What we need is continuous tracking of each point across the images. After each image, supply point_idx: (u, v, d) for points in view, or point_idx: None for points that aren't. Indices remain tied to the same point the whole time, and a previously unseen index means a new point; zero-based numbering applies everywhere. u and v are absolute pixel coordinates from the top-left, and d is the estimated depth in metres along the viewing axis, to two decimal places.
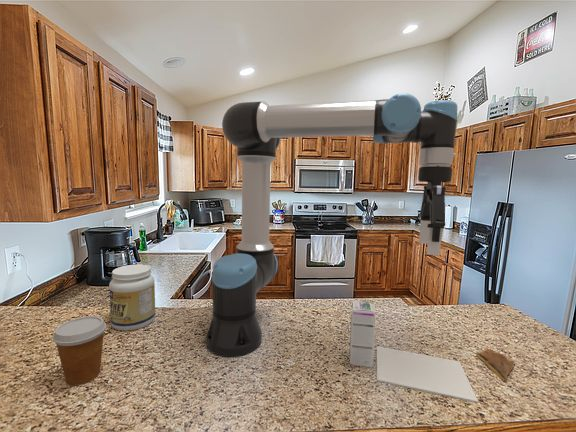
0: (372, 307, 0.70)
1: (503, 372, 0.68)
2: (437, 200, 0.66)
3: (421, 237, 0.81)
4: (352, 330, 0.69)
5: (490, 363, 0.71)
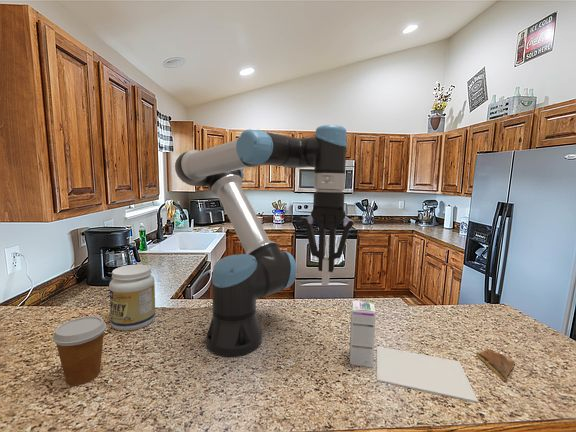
0: (372, 307, 0.70)
1: (503, 372, 0.68)
2: None
3: None
4: (352, 330, 0.69)
5: (490, 363, 0.71)
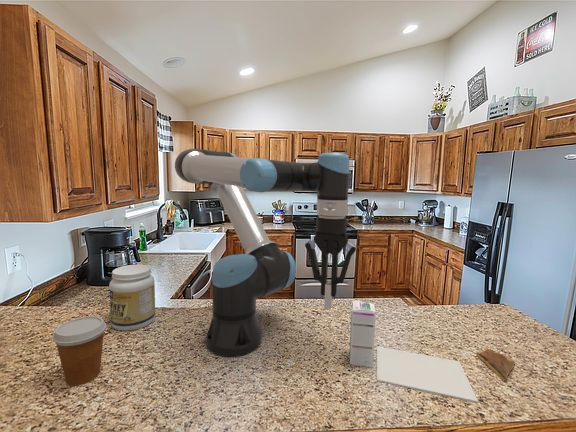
0: (372, 307, 0.70)
1: (503, 372, 0.68)
2: None
3: None
4: (352, 330, 0.69)
5: (490, 363, 0.71)
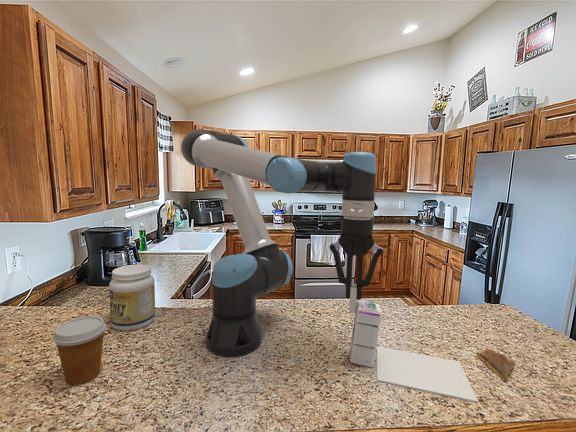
0: (378, 308, 0.70)
1: (503, 372, 0.68)
2: None
3: None
4: (356, 329, 0.69)
5: (490, 363, 0.71)
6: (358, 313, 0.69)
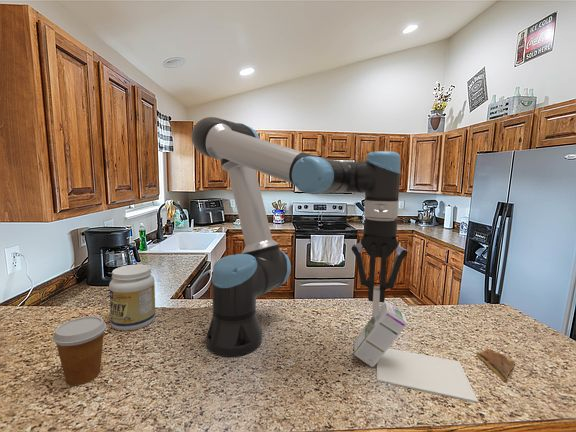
0: (404, 317, 0.69)
1: (503, 372, 0.68)
2: None
3: None
4: (375, 328, 0.68)
5: (490, 363, 0.71)
6: (385, 315, 0.67)
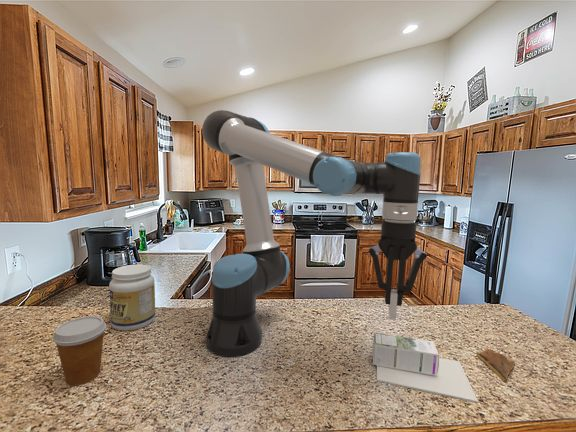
0: None
1: (503, 372, 0.68)
2: None
3: None
4: (414, 351, 0.67)
5: (490, 363, 0.71)
6: (433, 354, 0.66)
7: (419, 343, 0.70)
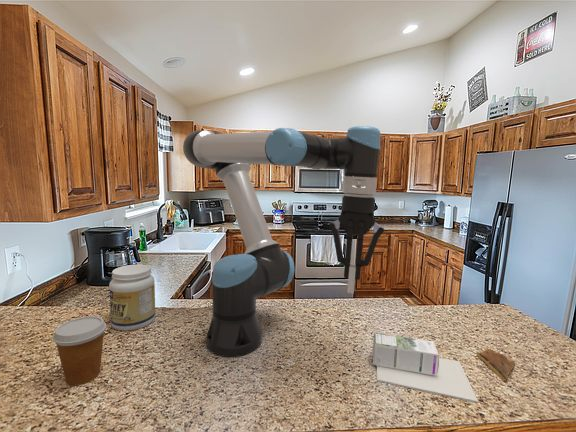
0: None
1: (504, 372, 0.68)
2: None
3: None
4: (414, 351, 0.67)
5: (491, 363, 0.71)
6: (433, 354, 0.66)
7: (419, 343, 0.70)
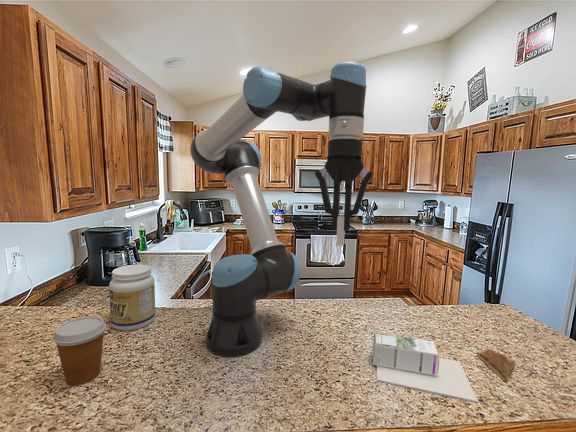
0: None
1: (504, 372, 0.68)
2: None
3: None
4: (414, 351, 0.67)
5: (491, 363, 0.71)
6: (433, 354, 0.66)
7: (419, 343, 0.70)
